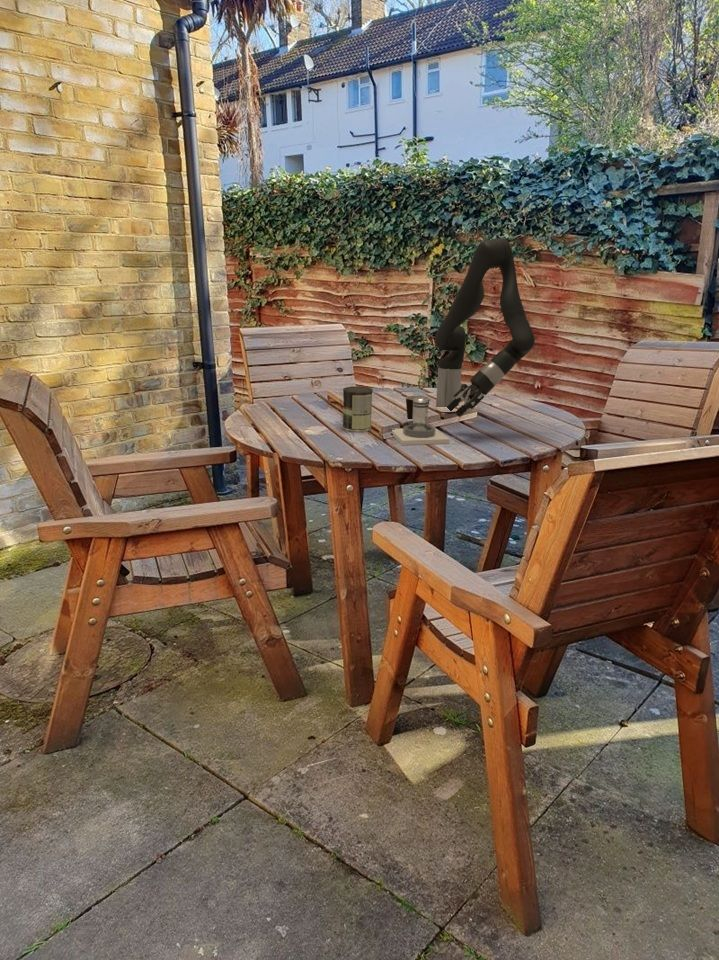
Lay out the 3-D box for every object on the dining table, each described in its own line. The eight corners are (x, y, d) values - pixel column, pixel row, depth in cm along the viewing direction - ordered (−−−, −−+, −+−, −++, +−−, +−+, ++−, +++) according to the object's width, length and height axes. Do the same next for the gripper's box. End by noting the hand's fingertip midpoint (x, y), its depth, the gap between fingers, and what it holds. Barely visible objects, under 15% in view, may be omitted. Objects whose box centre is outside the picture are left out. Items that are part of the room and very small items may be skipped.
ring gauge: (390, 433, 234) (390, 423, 233) (434, 431, 237) (434, 421, 236) (402, 445, 219) (402, 434, 218) (449, 443, 223) (449, 433, 221)
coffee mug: (416, 429, 240) (417, 401, 237) (399, 424, 247) (400, 397, 244) (439, 424, 248) (440, 397, 244) (422, 420, 254) (423, 393, 251)
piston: (410, 432, 230) (411, 397, 226) (424, 431, 231) (426, 396, 227) (414, 435, 225) (415, 400, 221) (429, 435, 226) (430, 399, 222)
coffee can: (337, 430, 237) (338, 390, 232) (349, 423, 246) (349, 385, 241) (365, 433, 233) (366, 392, 229) (375, 426, 242) (376, 387, 238)
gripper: (472, 366, 232) (439, 400, 233) (488, 373, 219) (452, 409, 220) (486, 381, 235) (452, 415, 236) (502, 389, 221) (467, 424, 223)
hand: (452, 412), depth 228 cm, fingers open, 8 cm apart
